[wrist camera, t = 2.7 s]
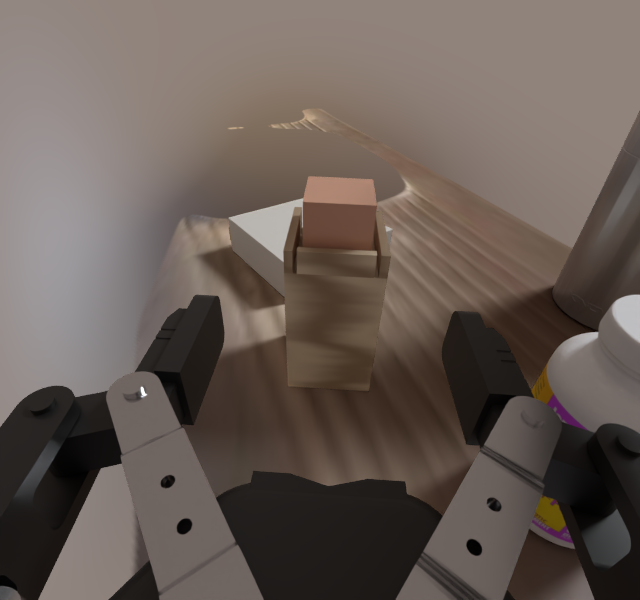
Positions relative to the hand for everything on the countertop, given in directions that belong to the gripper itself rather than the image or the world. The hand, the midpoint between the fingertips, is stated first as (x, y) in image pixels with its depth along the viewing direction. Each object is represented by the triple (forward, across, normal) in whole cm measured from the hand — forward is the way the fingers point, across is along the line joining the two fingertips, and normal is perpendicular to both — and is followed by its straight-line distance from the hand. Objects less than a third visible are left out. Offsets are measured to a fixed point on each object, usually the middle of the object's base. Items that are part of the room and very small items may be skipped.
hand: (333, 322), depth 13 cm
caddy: (+12, 0, +13) cm, 18 cm away
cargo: (+12, 0, +3) cm, 12 cm away
